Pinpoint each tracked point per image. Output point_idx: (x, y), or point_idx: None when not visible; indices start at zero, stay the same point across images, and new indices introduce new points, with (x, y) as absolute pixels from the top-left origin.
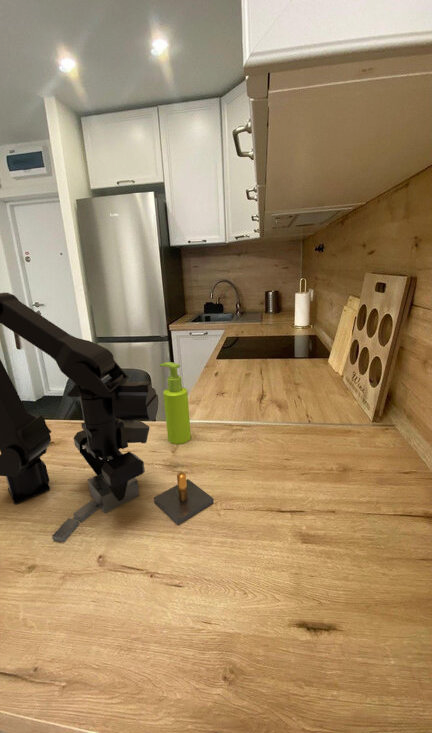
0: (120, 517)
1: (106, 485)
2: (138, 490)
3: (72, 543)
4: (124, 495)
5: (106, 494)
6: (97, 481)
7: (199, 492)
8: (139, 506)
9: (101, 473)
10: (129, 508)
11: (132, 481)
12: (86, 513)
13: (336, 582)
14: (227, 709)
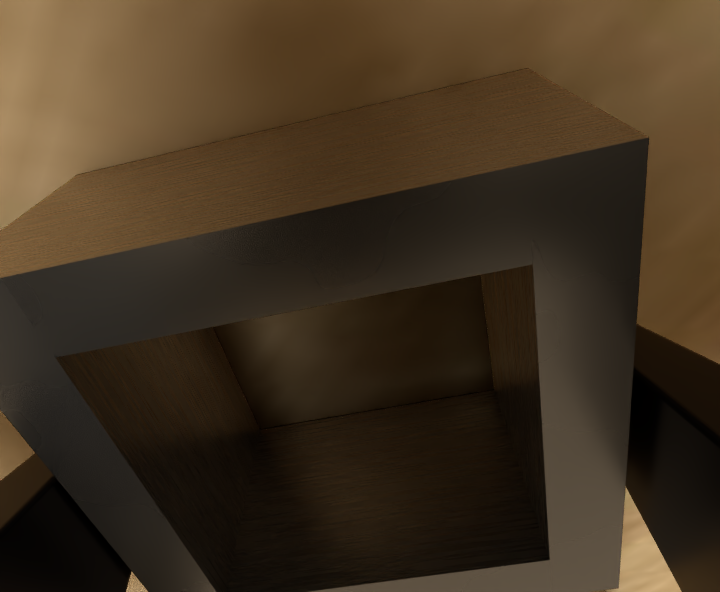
0: (695, 327)
1: (213, 398)
2: (559, 88)
3: (658, 571)
4: (638, 328)
5: (610, 555)
6: (223, 545)
7: None
8: (714, 125)
9: (109, 542)
10: (649, 232)
11: (614, 236)
12: None
13: None
14: None
